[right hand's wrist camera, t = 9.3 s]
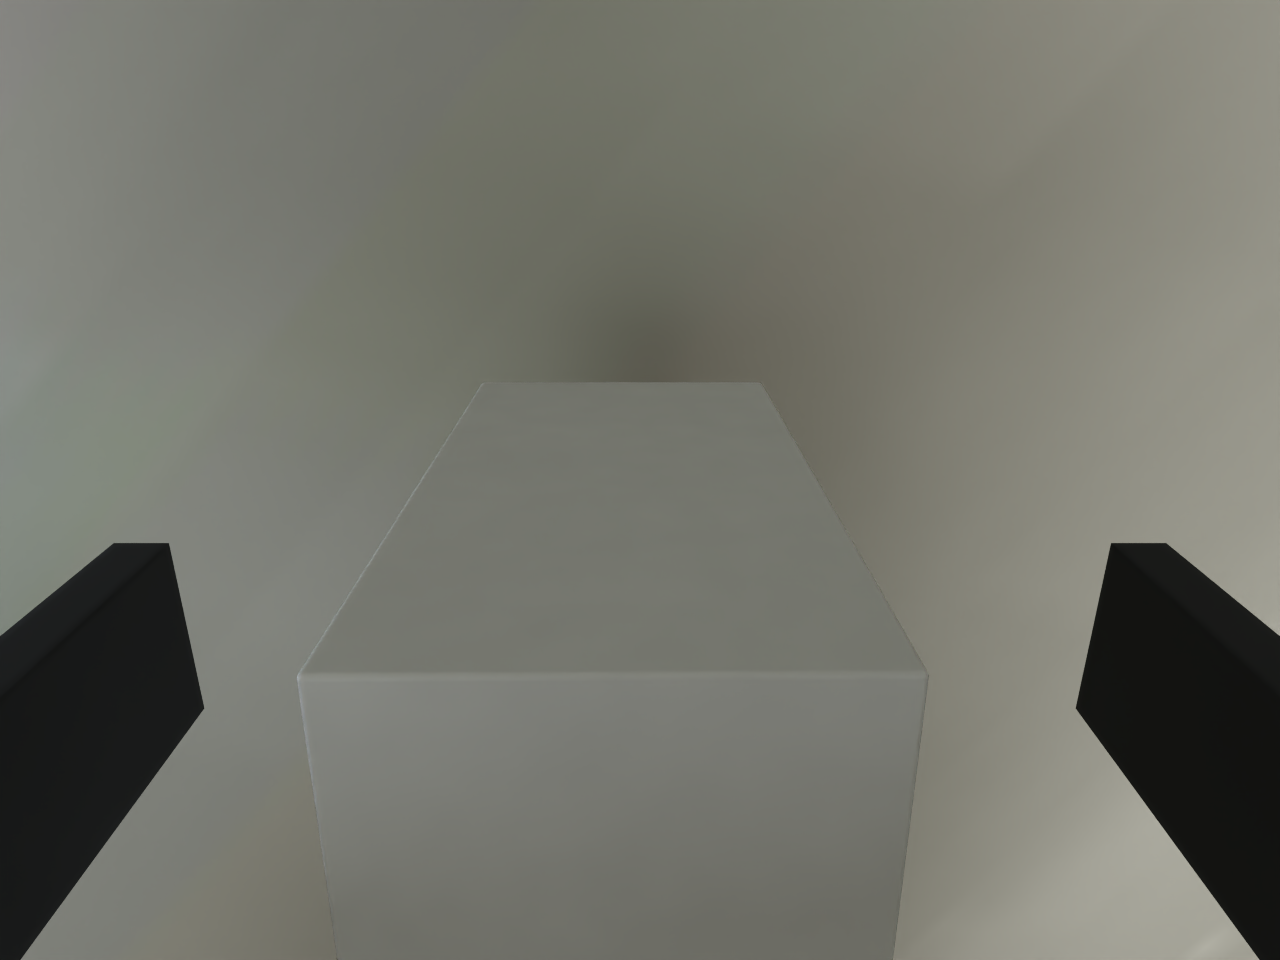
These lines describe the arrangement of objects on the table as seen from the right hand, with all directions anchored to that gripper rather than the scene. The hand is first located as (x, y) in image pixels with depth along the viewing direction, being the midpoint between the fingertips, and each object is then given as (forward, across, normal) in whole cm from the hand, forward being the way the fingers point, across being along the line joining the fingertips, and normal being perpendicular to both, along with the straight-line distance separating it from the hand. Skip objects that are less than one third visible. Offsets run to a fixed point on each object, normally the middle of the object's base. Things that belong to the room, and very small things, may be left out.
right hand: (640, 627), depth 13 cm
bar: (+4, 0, -10) cm, 10 cm away
